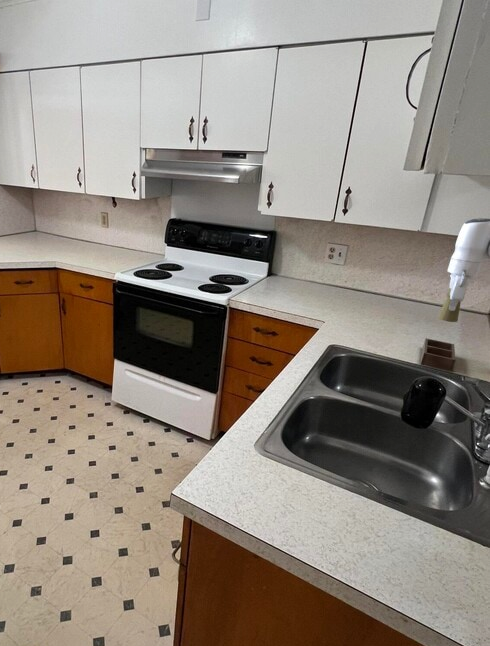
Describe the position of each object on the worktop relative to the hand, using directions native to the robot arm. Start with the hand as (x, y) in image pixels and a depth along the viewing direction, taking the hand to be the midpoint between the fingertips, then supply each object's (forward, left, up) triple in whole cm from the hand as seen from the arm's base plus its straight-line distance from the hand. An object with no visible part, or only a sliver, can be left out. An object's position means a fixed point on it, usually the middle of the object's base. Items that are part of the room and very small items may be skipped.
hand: (451, 307), depth 147 cm
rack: (0, +4, -18) cm, 19 cm away
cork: (0, 0, -4) cm, 4 cm away
